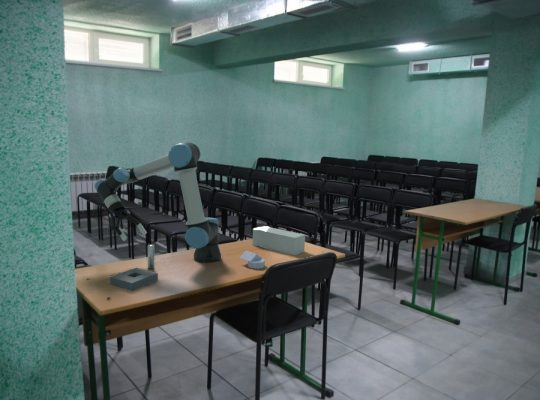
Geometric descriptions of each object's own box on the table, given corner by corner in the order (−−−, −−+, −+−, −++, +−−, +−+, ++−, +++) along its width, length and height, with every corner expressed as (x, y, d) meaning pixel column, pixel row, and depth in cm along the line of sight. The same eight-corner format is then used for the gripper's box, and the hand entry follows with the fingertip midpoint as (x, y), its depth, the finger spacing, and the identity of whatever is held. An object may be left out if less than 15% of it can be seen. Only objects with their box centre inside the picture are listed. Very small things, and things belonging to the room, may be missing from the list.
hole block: (136, 274, 211) (136, 267, 211) (157, 280, 205) (157, 273, 204) (110, 284, 198) (109, 276, 197) (132, 290, 191) (132, 283, 190)
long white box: (252, 245, 272) (252, 228, 271) (262, 242, 281) (263, 225, 279) (294, 255, 254) (295, 237, 252) (304, 252, 262) (305, 234, 260)
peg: (151, 266, 224) (150, 244, 222) (155, 268, 222) (155, 245, 220) (146, 268, 221) (146, 245, 219) (151, 269, 219) (151, 246, 217)
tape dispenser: (239, 263, 234) (256, 269, 225) (239, 251, 233) (256, 257, 224) (251, 260, 240) (268, 266, 232) (251, 249, 239) (268, 254, 230)
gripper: (129, 206, 241) (149, 236, 237) (91, 212, 220) (112, 246, 215) (135, 197, 238) (156, 228, 233) (98, 203, 216) (120, 237, 212)
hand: (135, 237), depth 224 cm, fingers open, 13 cm apart
